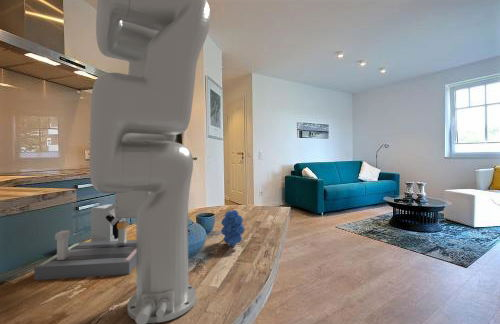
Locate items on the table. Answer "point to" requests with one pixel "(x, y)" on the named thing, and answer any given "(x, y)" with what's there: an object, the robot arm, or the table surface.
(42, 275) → the switch panel
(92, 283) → the table surface
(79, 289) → the table surface
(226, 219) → the grapes
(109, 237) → the supplement box
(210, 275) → the table surface
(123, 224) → the lever
